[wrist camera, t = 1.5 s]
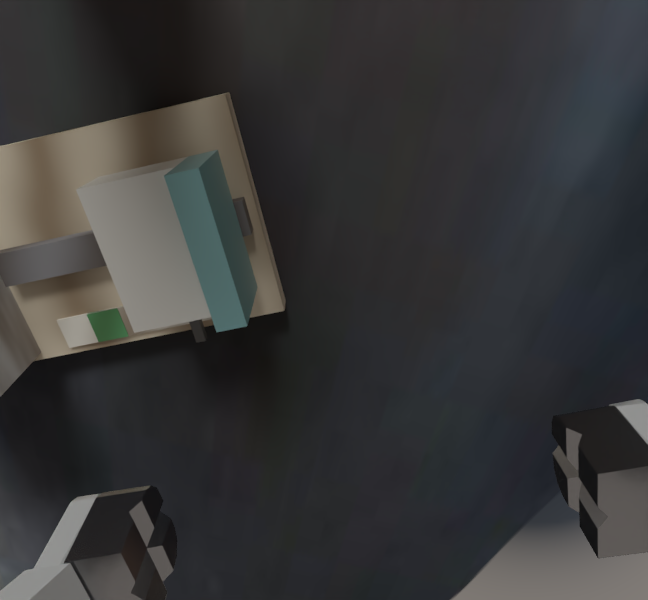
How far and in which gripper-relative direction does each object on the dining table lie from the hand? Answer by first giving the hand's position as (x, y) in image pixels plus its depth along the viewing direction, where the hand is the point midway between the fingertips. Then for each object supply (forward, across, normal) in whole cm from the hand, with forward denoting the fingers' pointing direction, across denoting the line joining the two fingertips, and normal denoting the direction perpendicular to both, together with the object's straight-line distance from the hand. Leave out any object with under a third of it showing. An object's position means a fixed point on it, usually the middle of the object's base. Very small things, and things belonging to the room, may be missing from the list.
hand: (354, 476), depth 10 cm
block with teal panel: (+21, +8, +1) cm, 23 cm away
